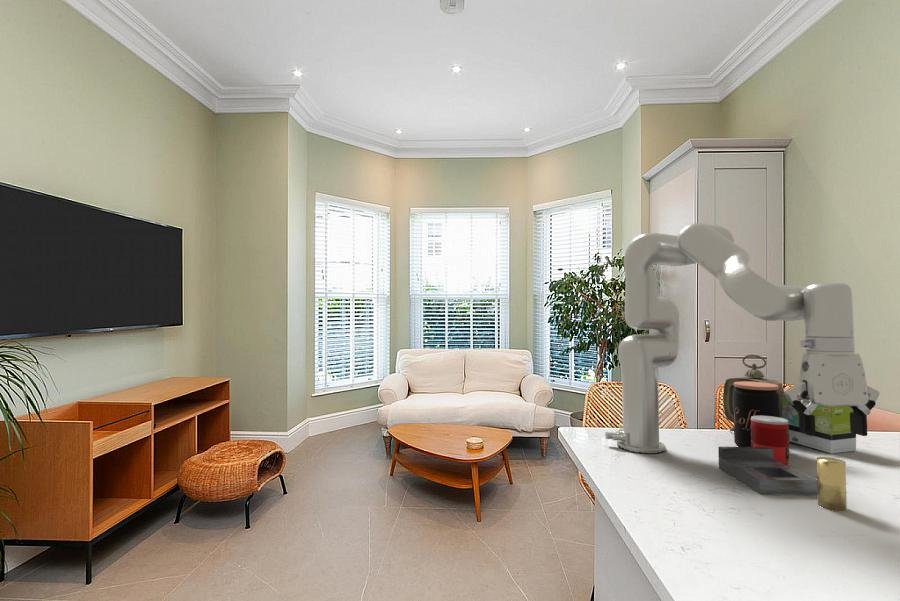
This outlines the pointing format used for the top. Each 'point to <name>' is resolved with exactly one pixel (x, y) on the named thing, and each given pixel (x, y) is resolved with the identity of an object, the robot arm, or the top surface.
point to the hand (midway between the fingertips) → (833, 434)
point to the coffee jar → (752, 407)
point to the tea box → (822, 427)
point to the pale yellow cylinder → (831, 483)
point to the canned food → (771, 436)
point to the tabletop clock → (752, 376)
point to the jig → (764, 471)
